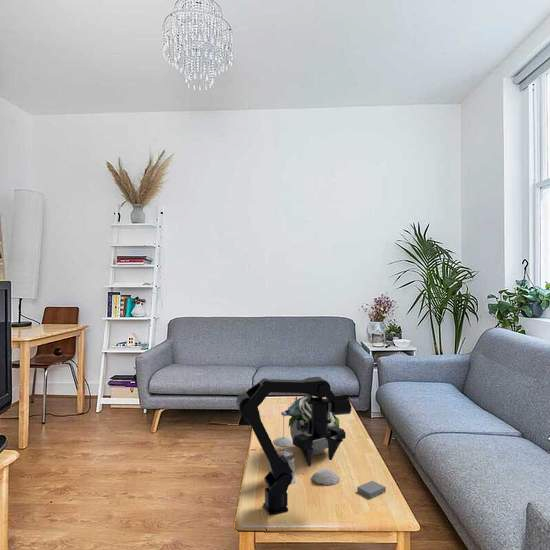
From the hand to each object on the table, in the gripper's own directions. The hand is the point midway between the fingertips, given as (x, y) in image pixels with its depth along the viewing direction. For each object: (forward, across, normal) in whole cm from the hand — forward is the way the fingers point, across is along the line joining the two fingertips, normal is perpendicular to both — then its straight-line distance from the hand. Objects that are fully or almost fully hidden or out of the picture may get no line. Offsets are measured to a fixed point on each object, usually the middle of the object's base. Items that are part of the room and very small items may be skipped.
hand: (319, 463), depth 140 cm
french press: (+13, +1, -20) cm, 24 cm away
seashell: (+14, -13, -12) cm, 22 cm away
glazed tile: (+12, -16, +4) cm, 21 cm away
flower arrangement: (+13, -26, -34) cm, 45 cm away
